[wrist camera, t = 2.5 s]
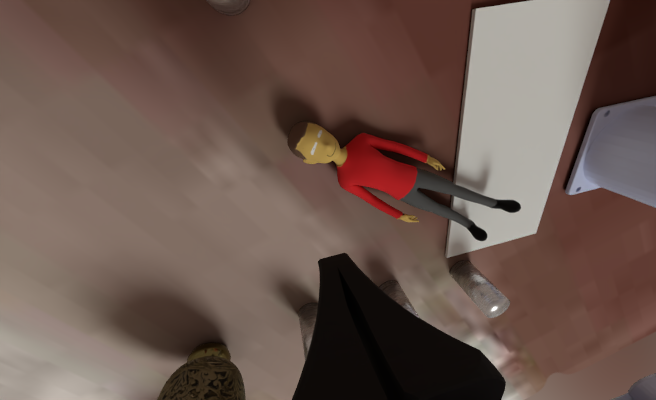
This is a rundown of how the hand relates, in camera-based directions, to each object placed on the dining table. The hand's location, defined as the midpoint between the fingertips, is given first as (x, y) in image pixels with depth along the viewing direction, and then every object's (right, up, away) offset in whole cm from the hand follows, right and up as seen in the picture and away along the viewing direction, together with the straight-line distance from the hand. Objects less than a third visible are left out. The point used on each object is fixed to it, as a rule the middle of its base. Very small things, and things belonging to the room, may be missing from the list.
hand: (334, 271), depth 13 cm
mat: (+15, +8, +9) cm, 19 cm away
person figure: (+5, +5, +8) cm, 11 cm away
